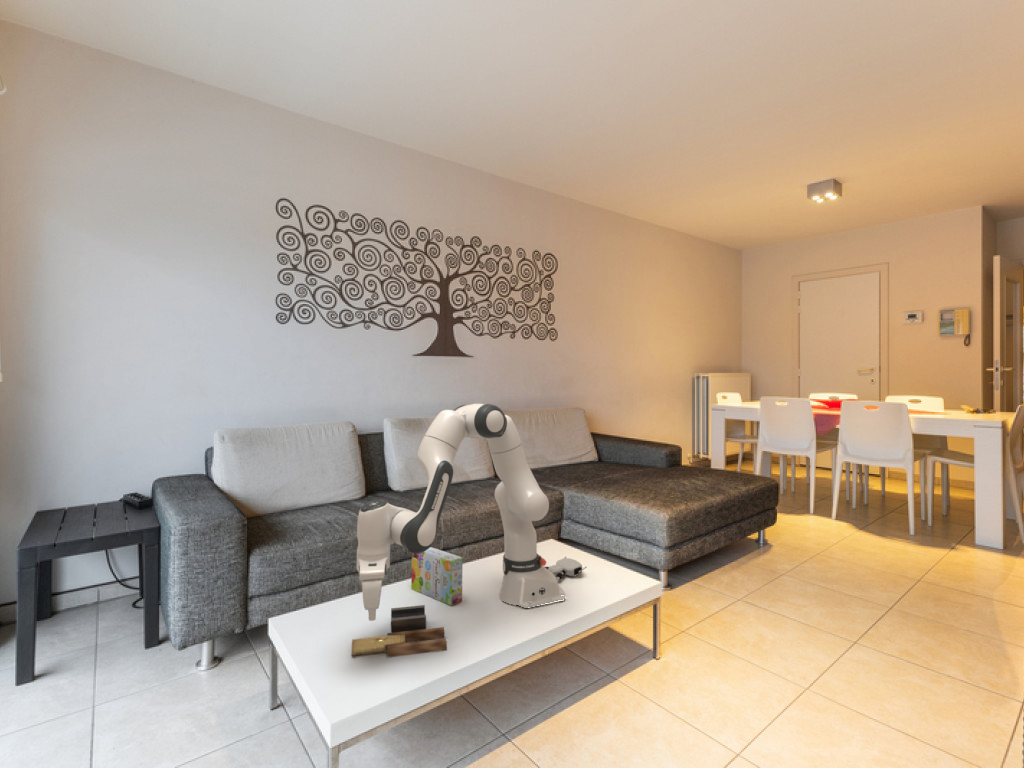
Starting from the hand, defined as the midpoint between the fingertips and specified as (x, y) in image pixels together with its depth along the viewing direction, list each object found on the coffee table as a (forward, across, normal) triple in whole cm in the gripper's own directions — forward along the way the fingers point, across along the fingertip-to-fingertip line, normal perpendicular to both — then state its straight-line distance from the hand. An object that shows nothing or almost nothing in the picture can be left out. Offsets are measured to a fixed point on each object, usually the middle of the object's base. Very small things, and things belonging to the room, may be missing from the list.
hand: (372, 611), depth 139 cm
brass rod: (+11, 0, +2) cm, 11 cm away
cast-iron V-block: (+11, -10, +10) cm, 18 cm away
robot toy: (+11, -39, +68) cm, 79 cm away
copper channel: (+11, 0, +12) cm, 16 cm away
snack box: (+11, -32, +20) cm, 39 cm away
